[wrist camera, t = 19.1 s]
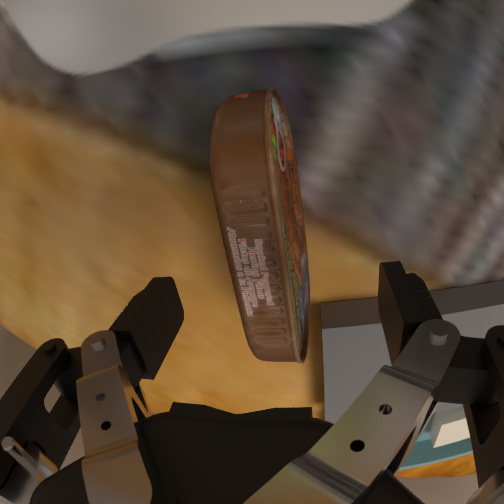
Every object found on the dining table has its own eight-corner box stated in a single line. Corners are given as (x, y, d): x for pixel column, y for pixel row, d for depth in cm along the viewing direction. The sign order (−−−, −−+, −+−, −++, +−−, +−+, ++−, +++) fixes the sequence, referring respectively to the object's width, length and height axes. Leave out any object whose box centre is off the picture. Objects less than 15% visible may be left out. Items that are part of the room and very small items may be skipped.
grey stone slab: (537, 274, 19) (554, 292, 17) (503, 371, 24) (513, 391, 22) (320, 303, 23) (321, 329, 21) (324, 402, 28) (324, 427, 26)
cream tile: (477, 394, 25) (484, 412, 23) (467, 420, 27) (472, 436, 25) (436, 406, 26) (441, 425, 24) (429, 430, 28) (433, 448, 26)
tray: (499, 374, 24) (512, 401, 21) (473, 426, 29) (480, 450, 25) (329, 403, 28) (330, 437, 25) (329, 450, 32) (328, 478, 29)
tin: (312, 306, 24) (313, 394, 16) (269, 308, 24) (255, 396, 17) (285, 89, 17) (277, 78, 10) (233, 97, 18) (188, 95, 10)
